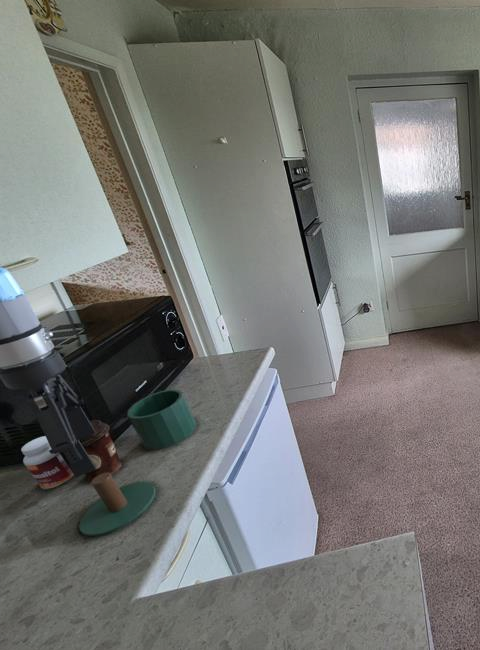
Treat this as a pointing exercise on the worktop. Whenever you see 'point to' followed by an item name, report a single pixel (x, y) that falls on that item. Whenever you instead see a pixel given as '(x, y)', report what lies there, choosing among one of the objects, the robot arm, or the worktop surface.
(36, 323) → the robot arm
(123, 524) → the tin lid
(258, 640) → the worktop surface
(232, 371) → the worktop surface
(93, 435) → the brown jar
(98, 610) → the worktop surface
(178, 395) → the tin
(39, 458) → the pill bottle
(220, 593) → the worktop surface
